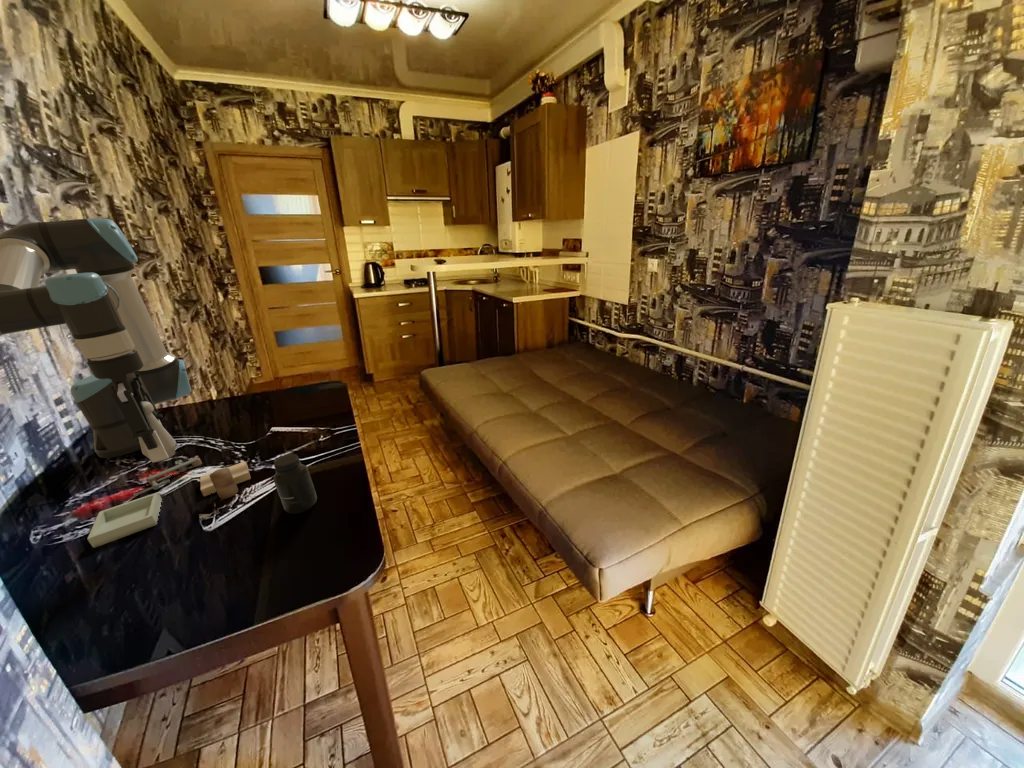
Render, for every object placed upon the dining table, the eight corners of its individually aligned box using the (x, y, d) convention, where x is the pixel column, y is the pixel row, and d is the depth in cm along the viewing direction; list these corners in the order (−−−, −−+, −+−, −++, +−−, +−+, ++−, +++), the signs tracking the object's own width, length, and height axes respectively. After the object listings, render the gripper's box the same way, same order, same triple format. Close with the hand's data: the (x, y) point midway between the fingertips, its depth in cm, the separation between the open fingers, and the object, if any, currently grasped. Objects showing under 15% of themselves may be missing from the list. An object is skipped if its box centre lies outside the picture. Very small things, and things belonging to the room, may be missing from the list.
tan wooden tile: (204, 484, 103) (200, 476, 102) (248, 468, 108) (245, 461, 107) (204, 497, 98) (200, 489, 97) (251, 480, 103) (248, 472, 102)
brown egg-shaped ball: (219, 492, 98) (209, 472, 96) (238, 486, 100) (229, 465, 98) (219, 501, 95) (209, 480, 93) (238, 493, 97) (229, 473, 95)
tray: (104, 520, 92) (99, 511, 91) (162, 500, 98) (158, 492, 97) (93, 548, 84) (87, 539, 83) (156, 524, 89) (151, 515, 88)
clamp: (194, 451, 115) (203, 463, 108) (197, 458, 116) (207, 469, 109) (126, 478, 105) (132, 493, 98) (130, 485, 106) (136, 500, 99)
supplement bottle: (285, 519, 87) (266, 473, 82) (285, 501, 93) (267, 457, 88) (319, 507, 90) (303, 462, 85) (317, 490, 95) (302, 447, 91)
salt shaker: (160, 450, 92) (133, 399, 87) (186, 447, 92) (161, 396, 87) (140, 465, 87) (111, 412, 81) (168, 462, 87) (140, 408, 82)
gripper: (97, 348, 85) (146, 441, 95) (72, 372, 71) (133, 480, 80) (142, 339, 89) (185, 430, 98) (127, 361, 74) (179, 465, 84)
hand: (162, 452), depth 89 cm, fingers closed on salt shaker, 6 cm apart
